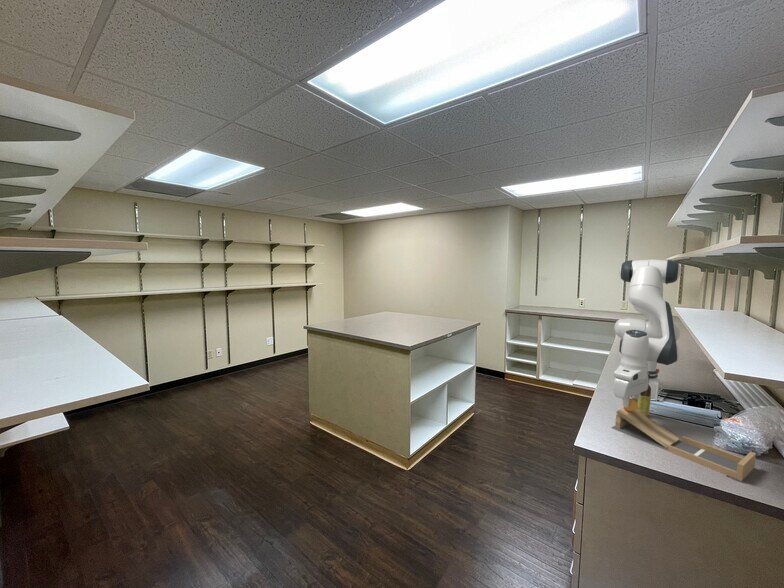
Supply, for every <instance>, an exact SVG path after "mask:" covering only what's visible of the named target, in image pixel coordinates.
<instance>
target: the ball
mask: <svg viewBox="0 0 784 588" xmlns="http://www.w3.org/2000/svg"><path fill="white" fill-rule="evenodd" d="M629 402H630V406H629V407H625V406H623V405H622V407H623V408H625V409H626V410H628V411H635V410H637V408H638V404H637V402H636V401H635V400H633V399H632V397H630V399H629Z"/></svg>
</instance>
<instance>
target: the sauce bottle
mask: <svg viewBox="0 0 784 588" xmlns="http://www.w3.org/2000/svg"><path fill="white" fill-rule="evenodd" d="M647 374H648V383H649V377H650V374H649V373H648V372H647ZM651 401H652V400H651V387H650V386H649V384H648V389H647V390H646V391H644V392H641V393H640V396H639V399H638V403H637V404H638V408H637V410H638V411H639V412H641V413H642V414H644V415H645V416H647V417H648V418H649V415H650V410H651V409H650V408H651Z"/></svg>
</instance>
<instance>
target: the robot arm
mask: <svg viewBox="0 0 784 588" xmlns="http://www.w3.org/2000/svg"><path fill="white" fill-rule="evenodd" d="M681 273H682V268H681V266H680V263H679V262H678V261H676V260H672V259H667V260H664V259H651V258H650V259H638V260H636V259H635V260H630V259H629V260H625V261H623V262H622V264H621V266H620V267H619V276H620V280H622V281H624V282H627V283H629V287H628V300H629V302H630V303H631V305H632V306H633V308H634V309H635V311H637V313H640V314H641V315H644V316H646V317H647V319H643V318H633V317H631V318H630V317H628V318H627V317H626V318H619V319H618V320H616V322H615V323H614V327H613V329H614V330H613V331H614V332H615V334H616V335H617V337H618V338H620V341H619V350H618V352H619V353H620V354H621V358H620V361H619V365H618V367H617V368H616V370H614V372H613V377H615V378H614V380H613V394H614V397H615V398H618V399H621V400H622V407H623V406H625V407H629V406H630V402H629V399H630V398H631V399H633V400H635V401H636V402H637V403H638V399H639V396H640V393H641V392H644V391H646V390H647V389H648V384H649V386H650V387H651V399H660V400H663V399H664V398H662V397H660V396H658V394H659V393H661V390H663V386H664V385H663V382H662V381H661V380H660V379H659V378H658V377H659V375H658V374H659V373H660V369H659V368H657V366H658V364H661V365H665V366H669V365H672V364H675V363H676V362H677V361H678V359H679V357H680V350H679V346H678V344H677V341H678V340H679V338H680V336H681V331H680V328H679V326H678V325H677V324H676V323H674V318H673V313H672V308H671V305H670V303H669V302H668V301H666V300H664V298H663V297H664V284H665V285H668V284H674V283H675V282H677V281H678V279H679V278H680V276H681ZM647 372H648V373H649V374H650V377H649V383H648V374H647ZM664 400H665V399H664ZM664 400H663V401H664Z"/></svg>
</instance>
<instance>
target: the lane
mask: <svg viewBox="0 0 784 588" xmlns="http://www.w3.org/2000/svg"><path fill="white" fill-rule="evenodd" d="M610 428H611V429H612V430H615V431H618V432H620V433H622V434H625V435H627V436H630V437H633V438H635V439H637V440H640V441H642V442H644V443H648V444H650V445H652V446H655V447H657V448H659V449H662V450H665V451H666V452H670V453H672V454H674V455H675V456H678V457H681V458H684V459H685V460H689V461H692V462H694V463H696V464H699V465H701V466H702V467H703V466H704V467H706V468H707V469H708V468H709V469H711V470H712V471H715V472H719V473H720V474H723V475H725V476H726V477H727V478H729V479H732V480H734V479H735V481H738V482H739V481H740V483H741V484H743V483H744V482H746V480H748V478H749V477H750V476H751V475H752V474H753V473H754V472H755V471H756V470H757V469H756V468H755V464H756V458H757V457H756V456H757V453H756V452H753V451H750V452H748V453H747V454H746V455H745V456H744V457H742V456H739V455H736V454H733V453H731V452H729V451H727V450H726V451H725V450H724V449H720V448H718V447H714V446H712V445H710V444H709V445H708V444H706V443H703V442H701V441H698V440H695V439H692V438H690V437H687V436H685V435H682V437H681V439H680V440H679V441H678V442H676V443H675V444H673V445H668V448H665V447H664V446H663V445H661V444H660V443H658V442H657V441H655V440H654V439H653V438H651V437H650V436H648V435H647V434H645V433H644V432H643V431H641V430H640V429H638V428H637V427H636V426H634V425H633V424H629V425H627V426H625V427H623V428H621V429H619V428H616V427H615V425H614V426H611V427H610Z"/></svg>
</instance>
